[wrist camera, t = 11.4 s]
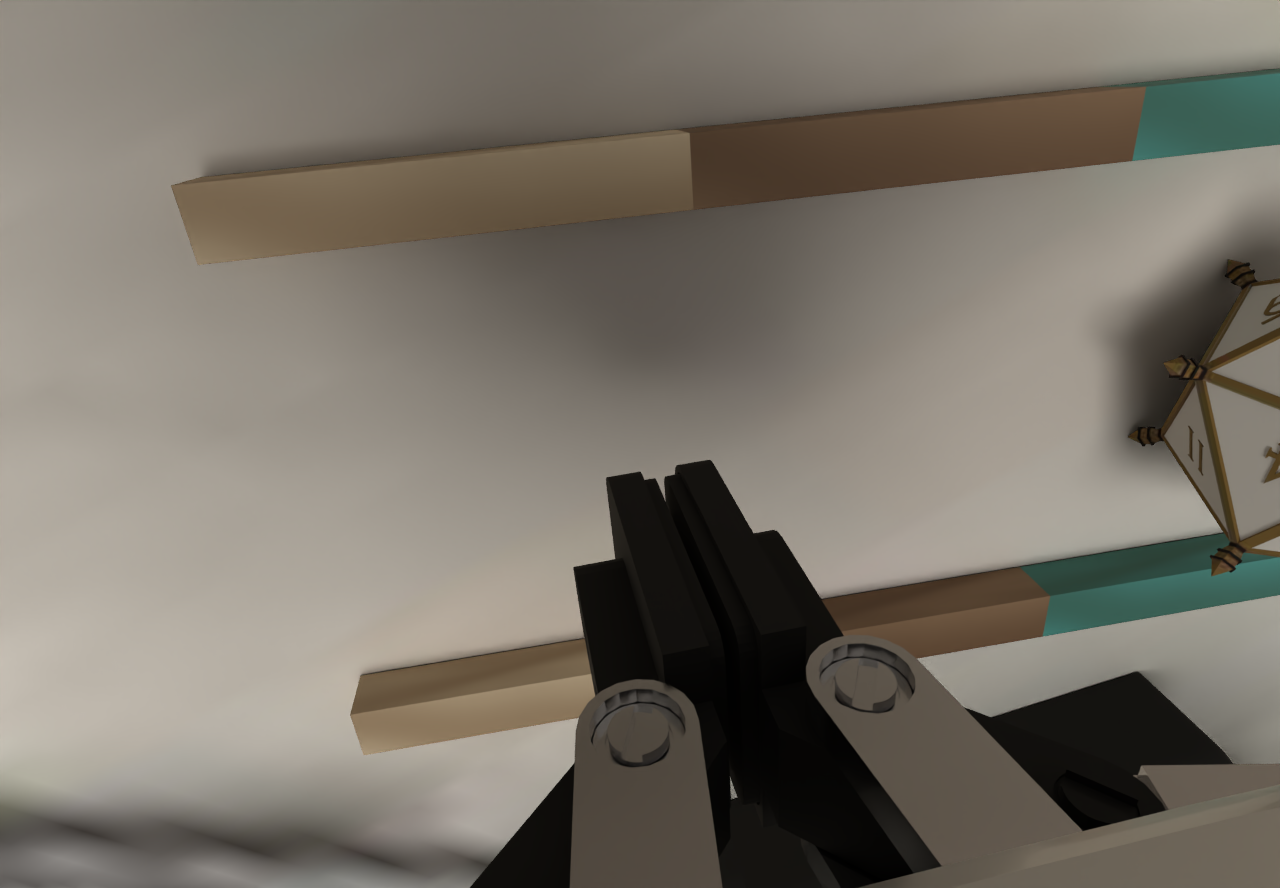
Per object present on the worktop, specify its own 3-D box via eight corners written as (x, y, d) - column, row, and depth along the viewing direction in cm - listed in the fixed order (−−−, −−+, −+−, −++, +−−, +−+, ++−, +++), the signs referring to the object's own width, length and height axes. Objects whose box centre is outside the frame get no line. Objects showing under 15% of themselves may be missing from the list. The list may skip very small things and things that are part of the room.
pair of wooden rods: (200, 176, 16) (171, 185, 14) (1476, 48, 18) (1551, 45, 17) (373, 715, 22) (363, 755, 21) (1296, 557, 25) (1340, 583, 24)
